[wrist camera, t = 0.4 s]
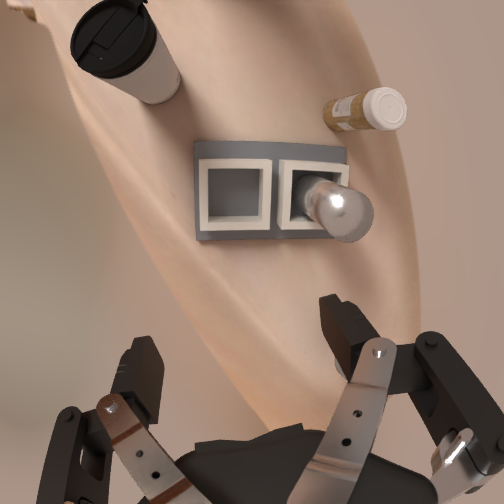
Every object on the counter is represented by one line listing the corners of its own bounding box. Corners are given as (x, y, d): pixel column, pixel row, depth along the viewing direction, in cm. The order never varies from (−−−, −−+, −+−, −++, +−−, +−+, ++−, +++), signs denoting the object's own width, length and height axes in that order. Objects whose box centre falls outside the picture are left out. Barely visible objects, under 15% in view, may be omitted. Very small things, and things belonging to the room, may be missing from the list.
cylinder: (291, 173, 37) (329, 189, 25) (327, 175, 38) (376, 192, 26) (289, 210, 39) (324, 242, 27) (324, 210, 39) (369, 242, 27)
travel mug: (192, 73, 31) (172, 9, 13) (160, 113, 33) (106, 86, 14) (156, 51, 29) (109, -20, 11) (124, 90, 31) (49, 51, 12)
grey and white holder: (194, 141, 35) (192, 141, 31) (342, 147, 37) (355, 148, 34) (196, 238, 40) (194, 248, 36) (335, 236, 42) (346, 245, 38)
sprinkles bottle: (335, 137, 37) (389, 139, 24) (315, 111, 35) (363, 100, 23) (358, 119, 36) (415, 115, 24) (338, 93, 34) (392, 78, 22)
